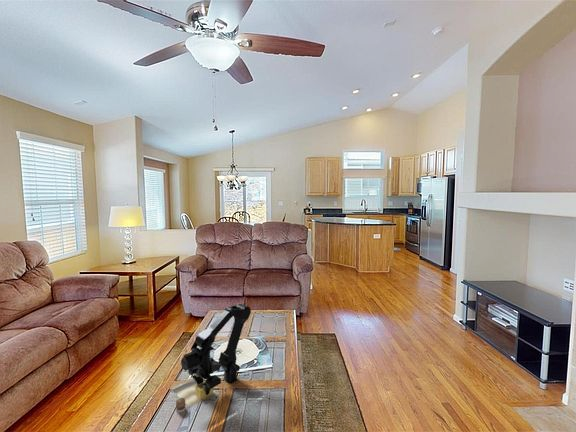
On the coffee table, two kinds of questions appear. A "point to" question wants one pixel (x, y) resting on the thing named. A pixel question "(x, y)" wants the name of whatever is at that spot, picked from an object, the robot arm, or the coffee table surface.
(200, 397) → the block
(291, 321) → the coffee table surface
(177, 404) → the peg
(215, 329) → the robot arm
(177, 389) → the plywood panel
